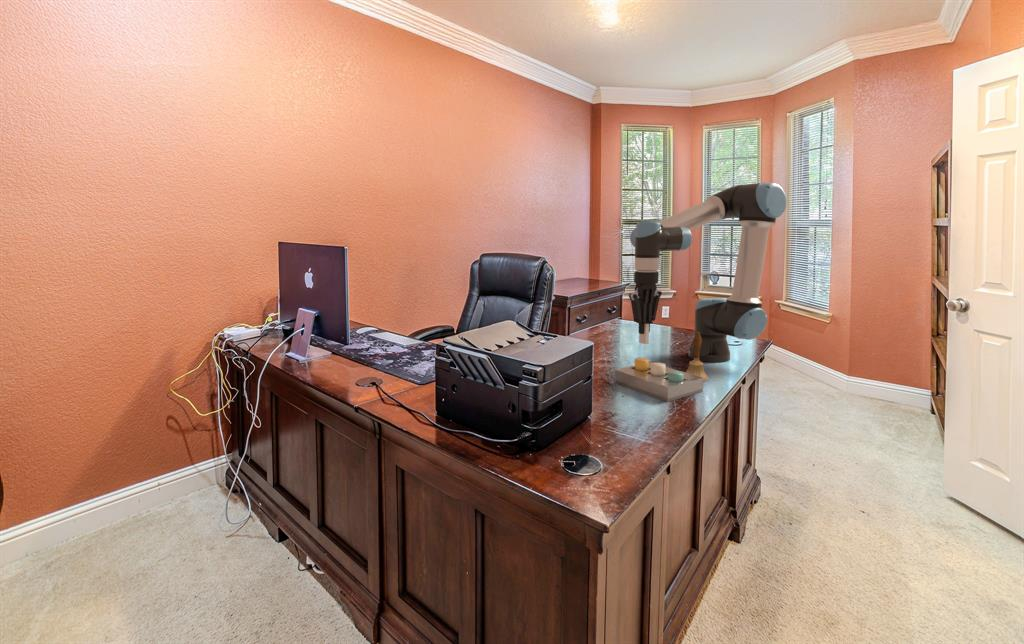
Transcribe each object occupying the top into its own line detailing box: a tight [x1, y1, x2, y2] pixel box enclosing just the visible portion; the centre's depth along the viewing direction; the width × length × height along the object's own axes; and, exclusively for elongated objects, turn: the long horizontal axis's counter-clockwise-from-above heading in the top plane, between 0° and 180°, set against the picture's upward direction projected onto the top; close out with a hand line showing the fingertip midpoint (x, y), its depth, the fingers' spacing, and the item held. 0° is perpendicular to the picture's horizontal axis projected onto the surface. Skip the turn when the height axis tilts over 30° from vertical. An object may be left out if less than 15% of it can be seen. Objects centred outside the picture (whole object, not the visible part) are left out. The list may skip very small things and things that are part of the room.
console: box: [614, 361, 704, 403], centre depth 162 cm, size 16×22×4 cm
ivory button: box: [650, 362, 667, 377], centre depth 162 cm, size 5×5×4 cm
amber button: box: [633, 357, 650, 372], centre depth 168 cm, size 5×5×4 cm
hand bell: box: [685, 332, 709, 382], centre depth 170 cm, size 8×8×16 cm
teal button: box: [668, 370, 684, 383], centre depth 156 cm, size 5×5×4 cm
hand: (643, 343), depth 166 cm, fingers closed
